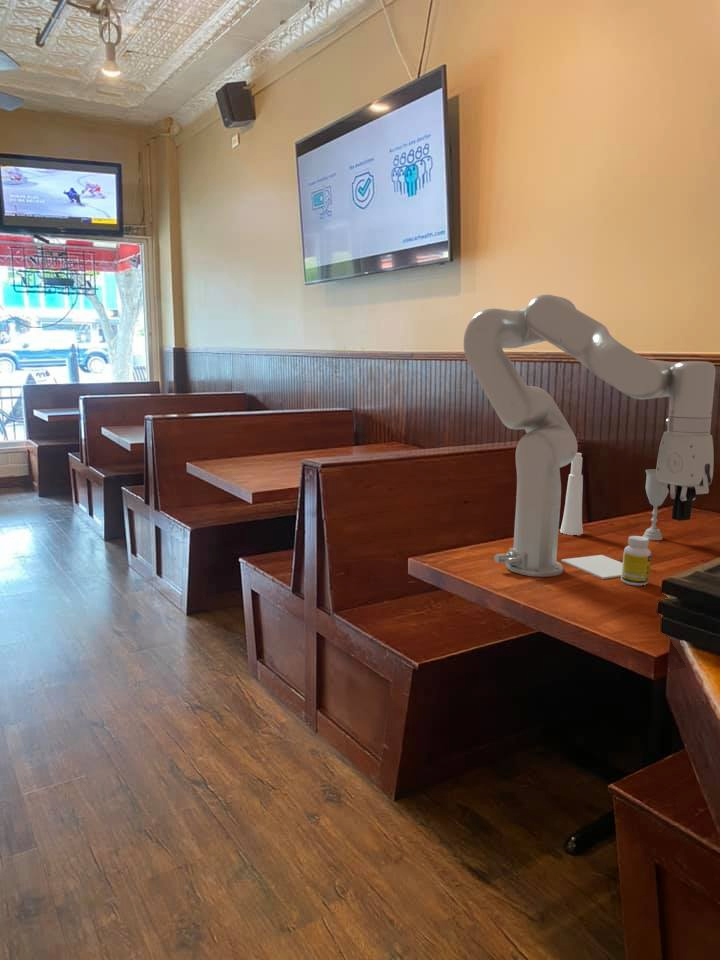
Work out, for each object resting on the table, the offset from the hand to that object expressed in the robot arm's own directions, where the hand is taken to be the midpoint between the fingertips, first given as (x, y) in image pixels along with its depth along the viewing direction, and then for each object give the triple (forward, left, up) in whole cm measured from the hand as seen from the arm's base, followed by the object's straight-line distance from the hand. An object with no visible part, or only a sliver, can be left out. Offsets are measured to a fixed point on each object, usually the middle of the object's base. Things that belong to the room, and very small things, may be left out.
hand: (681, 519), depth 137 cm
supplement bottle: (0, +10, -16) cm, 19 cm away
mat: (+1, +21, -16) cm, 27 cm away
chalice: (+33, +38, -16) cm, 53 cm away
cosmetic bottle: (+15, +49, -16) cm, 54 cm away
